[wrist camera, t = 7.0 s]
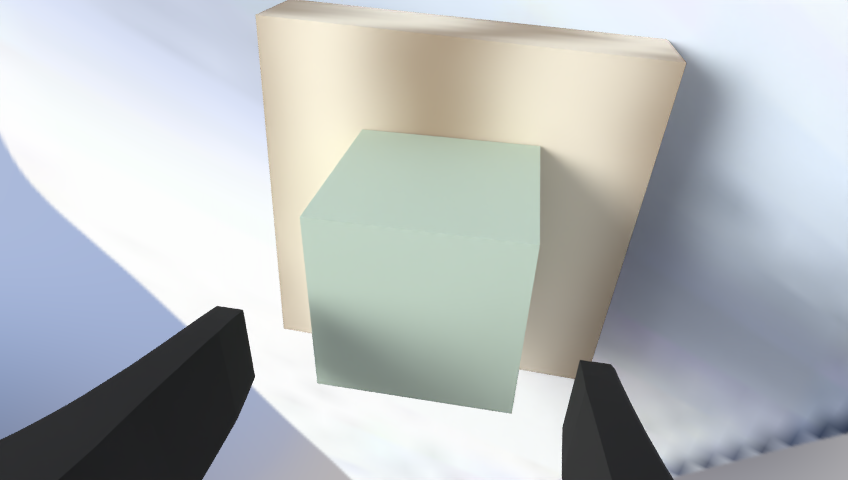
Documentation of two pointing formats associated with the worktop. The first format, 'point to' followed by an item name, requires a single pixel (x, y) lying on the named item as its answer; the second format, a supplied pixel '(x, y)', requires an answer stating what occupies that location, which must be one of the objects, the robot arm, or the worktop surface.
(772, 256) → the worktop surface
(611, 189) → the birch block
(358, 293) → the sage cube
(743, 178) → the worktop surface
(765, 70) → the worktop surface
